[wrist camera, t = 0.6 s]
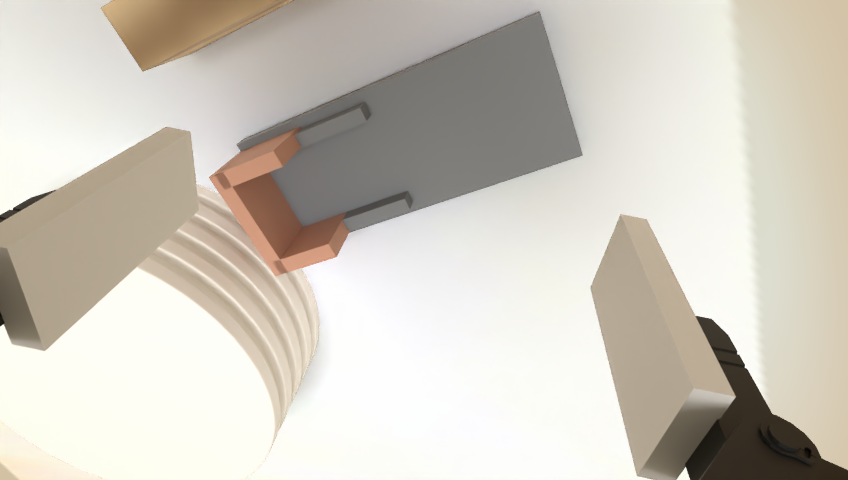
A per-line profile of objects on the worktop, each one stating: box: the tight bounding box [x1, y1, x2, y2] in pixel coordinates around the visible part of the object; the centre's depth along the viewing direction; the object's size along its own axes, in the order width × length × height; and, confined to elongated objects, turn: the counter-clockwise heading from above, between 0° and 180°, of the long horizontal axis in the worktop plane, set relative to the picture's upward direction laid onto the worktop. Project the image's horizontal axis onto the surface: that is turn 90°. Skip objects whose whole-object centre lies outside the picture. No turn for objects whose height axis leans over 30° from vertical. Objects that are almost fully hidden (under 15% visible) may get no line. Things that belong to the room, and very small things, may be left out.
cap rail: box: [209, 12, 582, 276], centre depth 35 cm, size 10×24×6 cm, turn 114°
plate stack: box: [0, 184, 319, 480], centre depth 45 cm, size 28×28×12 cm
